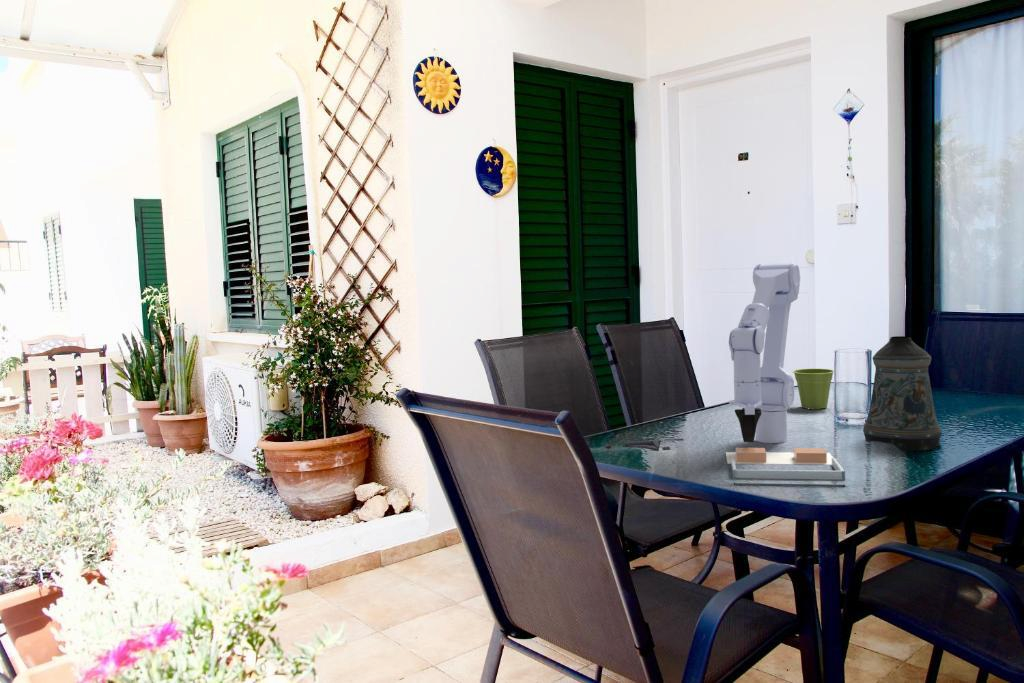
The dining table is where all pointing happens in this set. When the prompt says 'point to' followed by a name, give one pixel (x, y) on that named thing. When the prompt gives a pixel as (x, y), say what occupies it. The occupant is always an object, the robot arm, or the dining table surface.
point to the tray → (790, 475)
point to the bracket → (652, 442)
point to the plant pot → (814, 387)
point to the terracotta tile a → (750, 454)
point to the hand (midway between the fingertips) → (748, 441)
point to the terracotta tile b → (810, 455)
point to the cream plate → (777, 459)
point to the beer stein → (902, 398)
